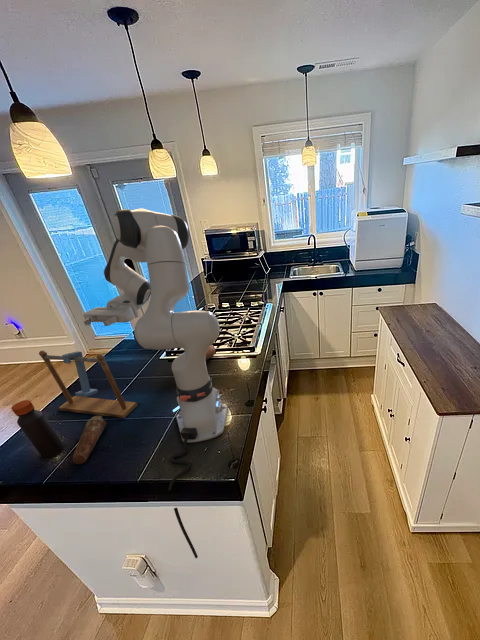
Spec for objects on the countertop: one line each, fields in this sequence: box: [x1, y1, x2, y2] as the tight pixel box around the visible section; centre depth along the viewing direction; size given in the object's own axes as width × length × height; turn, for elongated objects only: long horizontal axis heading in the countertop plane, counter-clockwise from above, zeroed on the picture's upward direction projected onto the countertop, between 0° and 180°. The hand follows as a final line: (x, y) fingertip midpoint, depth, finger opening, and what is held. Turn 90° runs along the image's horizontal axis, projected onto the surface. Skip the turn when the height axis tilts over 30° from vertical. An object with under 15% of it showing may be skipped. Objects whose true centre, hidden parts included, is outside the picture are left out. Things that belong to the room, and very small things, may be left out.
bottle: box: [10, 399, 65, 459], centre depth 101 cm, size 7×7×20 cm
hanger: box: [61, 350, 99, 397], centre depth 116 cm, size 8×5×16 cm
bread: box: [71, 415, 107, 465], centre depth 106 cm, size 6×19×6 cm, turn 7°
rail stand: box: [38, 350, 138, 419], centre depth 119 cm, size 31×8×25 cm, turn 75°
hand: (95, 323), depth 120 cm, fingers open, 8 cm apart
